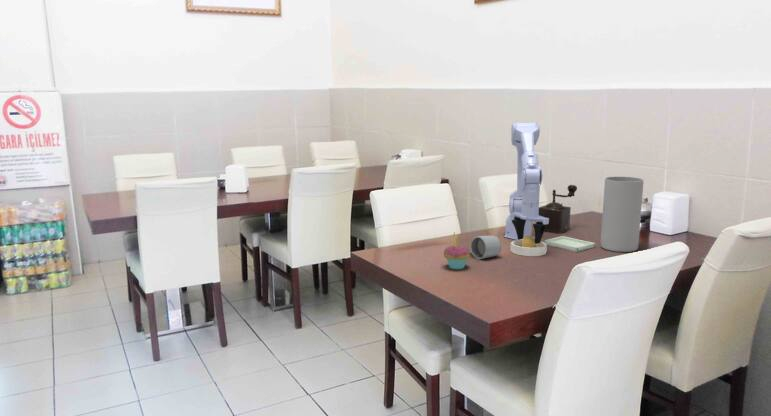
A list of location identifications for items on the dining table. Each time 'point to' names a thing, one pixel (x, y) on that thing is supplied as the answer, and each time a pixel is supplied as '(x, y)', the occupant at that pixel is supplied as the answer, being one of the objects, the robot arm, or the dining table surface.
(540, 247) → the bowl
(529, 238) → the ball
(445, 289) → the dining table surface
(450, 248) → the cupcake
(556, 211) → the brown manual coffee grinder
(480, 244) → the ceramic mug
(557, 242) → the tray
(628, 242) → the cylinder vase
